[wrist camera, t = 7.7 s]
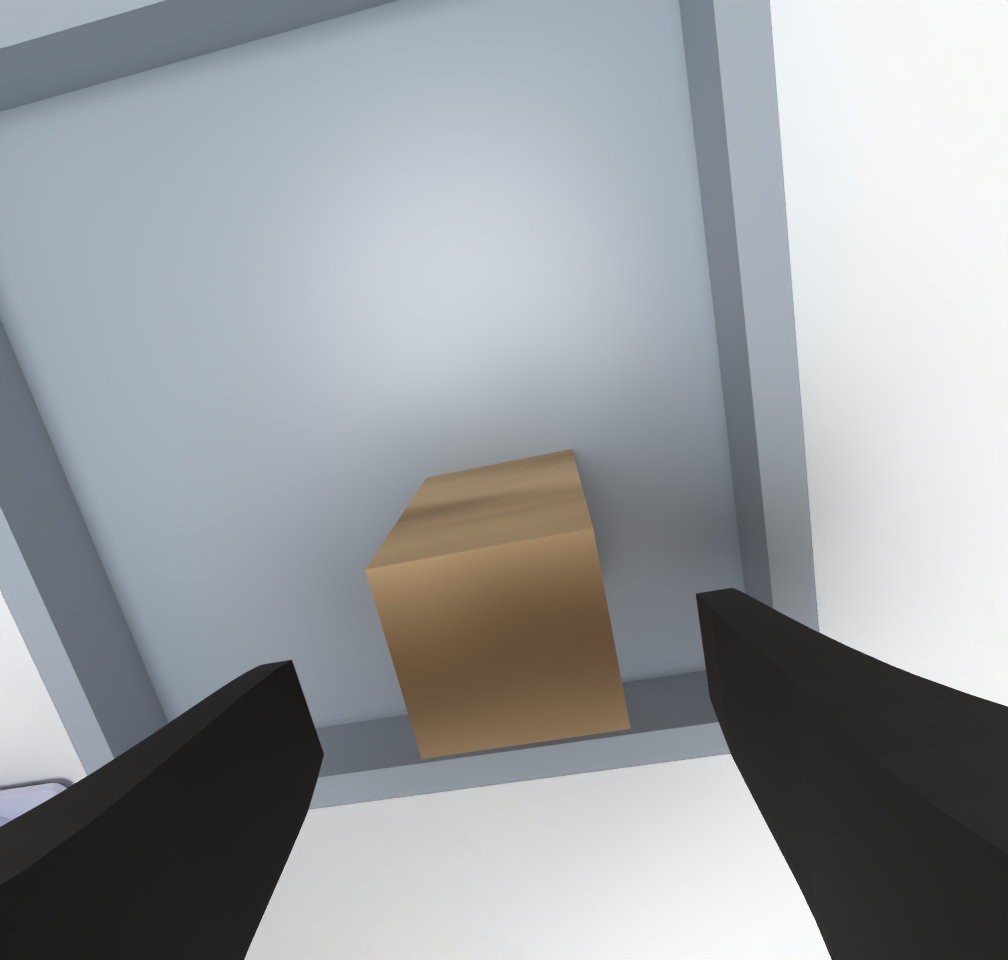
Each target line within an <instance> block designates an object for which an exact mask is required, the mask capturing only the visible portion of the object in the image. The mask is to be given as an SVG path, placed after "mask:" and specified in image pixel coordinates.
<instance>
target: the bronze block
mask: <svg viewBox="0 0 1008 960" xmlns="http://www.w3.org/2000/svg"><path fill="white" fill-rule="evenodd" d="M365 571H366V575H367V578H368V581H369V585H370V588H371V591H372V595H373V598H374V602H375V605H376V608H377V612H378V615H379V618H380V622H381V625H382V628H383V632H384V635H385V638H386V642H387V645H388V648H389V652H390V655H391V658H392V662H393V665H394V668H395V672H396V675H397V679H398V682H399V685H400V689H401V692H402V695H403V699H404V702H405V705H406V709H407V712H408V715H409V719H410V722H411V725H412V729H413V732H414V735H415V739H416V742H417V746H418V749H419V752H420V756H421V759H426V758H433V757H440V756H447V755H454V754H461V753H468V752H474V751H481V750H488V749H495V748H502V747H509V746H516V745H523V744H530V743H537V742H544V741H551V740H557V739H564V738H571V737H578V736H585V735H592V734H599V733H606V732H613V731H620V730H627V729H631V728H630V723H629V718H628V712H627V707H626V702H625V696H624V691H623V685H622V680H621V675H620V669H619V664H618V659H617V653H616V648H615V643H614V637H613V632H612V626H611V621H610V616H609V610H608V605H607V600H606V594H605V589H604V584H603V578H602V573H601V567H600V562H599V557H598V551H597V546H596V541H595V535H594V530H593V526H592V522H591V518H590V514H589V511H588V507H587V503H586V499H585V496H584V492H583V488H582V484H581V481H580V477H579V473H578V469H577V465H576V462H575V458H574V454H573V450H572V449H569V450H564V451H559V452H554V453H549V454H544V455H539V456H534V457H529V458H523V459H518V460H513V461H508V462H503V463H498V464H493V465H488V466H483V467H478V468H473V469H468V470H463V471H457V472H452V473H447V474H442V475H437V476H432V477H427V478H426V479H425V481H424V482H423V484H422V485H421V487H420V488H419V490H418V491H417V493H416V494H415V495H414V497H413V498H412V500H411V501H410V503H409V504H408V506H407V507H406V509H405V510H404V512H403V513H402V515H401V516H400V518H399V519H398V521H397V522H396V524H395V525H394V527H393V528H392V530H391V531H390V533H389V534H388V536H387V537H386V539H385V540H384V542H383V543H382V545H381V546H380V548H379V549H378V551H377V552H376V554H375V555H374V557H373V558H372V560H371V561H370V563H369V564H368V566H367V567H366V569H365Z"/></svg>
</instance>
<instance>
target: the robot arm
mask: <svg viewBox="0 0 1008 960" xmlns="http://www.w3.org/2000/svg"><path fill="white" fill-rule="evenodd" d="M696 600H697V608H698V615H699V622H700V630H701V637H702V644H703V652H704V659H705V666H706V674H707V681H708V688H709V696H710V700H711V703H712V705H713V708H714V711H715V713H716V716H717V719H718V722H719V724H720V727H721V730H722V732H723V735H724V738H725V740H726V743H727V745H728V748H729V751H730V753H731V755H732V757H733V759H734V761H735V763H736V765H737V767H738V769H739V771H740V773H741V775H742V777H743V779H744V781H745V783H746V785H747V787H748V788H749V790H750V792H751V794H752V796H753V798H754V800H755V802H756V804H757V806H758V808H759V810H760V812H761V814H762V815H763V817H764V819H765V821H766V823H767V825H768V827H769V829H770V831H771V833H772V835H773V837H774V839H775V840H776V842H777V844H778V846H779V848H780V850H781V852H782V854H783V856H784V858H785V860H786V862H787V864H788V865H789V867H790V869H791V871H792V873H793V875H794V877H795V879H796V881H797V883H798V885H799V887H800V889H801V891H802V893H803V895H804V897H805V899H806V901H807V904H808V906H809V908H810V910H811V912H812V914H813V916H814V918H815V920H816V923H817V925H818V927H819V930H820V932H821V935H822V937H823V940H824V942H825V944H826V947H827V949H828V952H829V954H830V956H831V959H832V960H1008V706H1004V705H1001V704H998V703H995V702H992V701H988V700H985V699H982V698H979V697H976V696H973V695H970V694H967V693H964V692H961V691H958V690H956V689H953V688H950V687H947V686H944V685H942V684H939V683H936V682H933V681H931V680H928V679H925V678H922V677H919V676H917V675H914V674H911V673H909V672H906V671H904V670H901V669H899V668H896V667H894V666H891V665H889V664H887V663H884V662H882V661H880V660H878V659H875V658H873V657H871V656H869V655H866V654H864V653H862V652H859V651H857V650H855V649H853V648H850V647H848V646H846V645H844V644H842V643H840V642H838V641H836V640H833V639H831V638H829V637H827V636H825V635H823V634H821V633H819V632H817V631H815V630H813V629H811V628H809V627H807V626H805V625H803V624H801V623H799V622H798V621H796V620H794V619H792V618H790V617H788V616H786V615H784V614H782V613H781V612H779V611H777V610H775V609H773V608H771V607H769V606H768V605H766V604H764V603H762V602H760V601H758V600H756V599H755V598H753V597H751V596H749V595H747V594H745V593H743V592H741V591H739V590H737V589H735V588H727V589H721V590H714V591H708V592H702V593H696ZM323 757H324V752H323V749H322V746H321V744H320V741H319V738H318V735H317V732H316V729H315V726H314V723H313V720H312V717H311V714H310V711H309V708H308V705H307V702H306V699H305V696H304V694H303V691H302V688H301V685H300V682H299V679H298V676H297V673H296V670H295V667H294V664H293V661H292V660H287V661H281V662H275V663H268V664H262V665H259V666H257V667H255V668H253V669H251V670H249V671H247V672H246V673H244V674H242V675H241V676H239V677H237V678H236V679H234V680H232V681H231V682H229V683H228V684H226V685H225V686H223V687H221V688H220V689H218V690H217V691H215V692H214V693H212V694H211V695H209V696H208V697H206V698H205V699H203V700H202V701H200V702H199V703H197V704H196V705H194V706H193V707H192V708H190V709H189V710H187V711H186V712H184V713H183V714H181V715H180V716H178V717H177V718H175V719H174V720H172V721H171V722H169V723H168V724H166V725H165V726H164V727H162V728H161V729H159V730H158V731H156V732H155V733H153V734H152V735H150V736H149V737H147V738H146V739H144V740H143V741H141V742H139V743H138V744H136V745H135V746H133V747H132V748H130V749H129V750H127V751H125V752H124V753H122V754H121V755H119V756H118V757H116V758H115V759H113V760H112V761H110V762H108V763H107V764H105V765H104V766H102V767H101V768H99V769H98V770H96V771H94V772H93V773H91V774H90V775H88V776H87V777H85V778H84V779H82V780H80V781H79V782H77V783H75V784H74V785H72V786H70V787H69V788H66V787H65V786H63V785H61V784H58V783H47V784H40V785H34V786H27V787H20V788H13V789H6V790H0V960H244V959H245V956H246V954H247V951H248V949H249V946H250V944H251V942H252V939H253V937H254V935H255V933H256V930H257V928H258V926H259V923H260V921H261V919H262V917H263V914H264V912H265V910H266V908H267V905H268V903H269V901H270V898H271V896H272V894H273V892H274V889H275V887H276V885H277V882H278V880H279V878H280V876H281V873H282V871H283V869H284V866H285V864H286V862H287V860H288V857H289V855H290V853H291V850H292V848H293V846H294V843H295V841H296V839H297V836H298V834H299V831H300V829H301V827H302V824H303V822H304V820H305V817H306V815H307V812H308V810H309V806H310V803H311V800H312V797H313V793H314V790H315V787H316V783H317V779H318V776H319V772H320V768H321V764H322V760H323Z"/></svg>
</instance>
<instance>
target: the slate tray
mask: <svg viewBox="0 0 1008 960" xmlns="http://www.w3.org/2000/svg"><path fill="white" fill-rule="evenodd" d="M569 449H572V450H573V454H574V458H575V462H576V465H577V469H578V473H579V477H580V481H581V484H582V488H583V492H584V496H585V499H586V503H587V507H588V511H589V514H590V518H591V522H592V526H593V530H594V535H595V541H596V546H597V551H598V557H599V562H600V567H601V573H602V578H603V584H604V589H605V594H606V600H607V605H608V610H609V616H610V621H611V626H612V632H613V637H614V643H615V648H616V653H617V659H618V664H619V669H620V675H621V680H622V685H623V691H624V696H625V702H626V707H627V712H628V718H629V723H630V728H631V729H627V730H620V731H613V732H606V733H599V734H592V735H585V736H578V737H571V738H564V739H557V740H551V741H544V742H537V743H530V744H523V745H516V746H509V747H502V748H495V749H488V750H481V751H474V752H468V753H461V754H454V755H447V756H440V757H433V758H426V759H421V756H420V752H419V749H418V746H417V742H416V739H415V735H414V732H413V729H412V725H411V722H410V719H409V715H408V712H407V709H406V705H405V702H404V699H403V695H402V692H401V689H400V685H399V682H398V679H397V675H396V672H395V668H394V665H393V662H392V658H391V655H390V652H389V648H388V645H387V642H386V638H385V635H384V632H383V628H382V625H381V622H380V618H379V615H378V612H377V608H376V605H375V602H374V598H373V595H372V591H371V588H370V585H369V581H368V578H367V575H366V571H365V569H366V567H367V566H368V564H369V563H370V561H371V560H372V558H373V557H374V555H375V554H376V552H377V551H378V549H379V548H380V546H381V545H382V543H383V542H384V540H385V539H386V537H387V536H388V534H389V533H390V531H391V530H392V528H393V527H394V525H395V524H396V522H397V521H398V519H399V518H400V516H401V515H402V513H403V512H404V510H405V509H406V507H407V506H408V504H409V503H410V501H411V500H412V498H413V497H414V495H415V494H416V493H417V491H418V490H419V488H420V487H421V485H422V484H423V482H424V481H425V479H426V478H427V477H432V476H437V475H442V474H447V473H452V472H457V471H463V470H468V469H473V468H478V467H483V466H488V465H493V464H498V463H503V462H508V461H513V460H518V459H523V458H529V457H534V456H539V455H544V454H549V453H554V452H559V451H564V450H569ZM727 588H735V589H737V590H739V591H741V592H743V593H745V594H747V595H749V596H751V597H753V598H755V599H756V600H758V601H760V602H762V603H764V604H766V605H768V606H769V607H771V608H773V609H775V610H777V611H779V612H781V613H782V614H784V615H786V616H788V617H790V618H792V619H794V620H796V621H798V622H799V623H801V624H803V625H805V626H807V627H809V628H811V629H813V630H815V631H817V632H819V627H818V614H817V601H816V588H815V575H814V563H813V550H812V537H811V524H810V511H809V499H808V486H807V473H806V460H805V447H804V435H803V422H802V409H801V396H800V383H799V370H798V358H797V345H796V332H795V319H794V306H793V294H792V281H791V268H790V255H789V242H788V230H787V217H786V204H785V191H784V178H783V165H782V153H781V140H780V127H779V114H778V101H777V89H776V76H775V63H774V50H773V37H772V25H771V12H770V0H0V591H1V593H2V595H3V597H4V599H5V601H6V604H7V606H8V608H9V610H10V612H11V614H12V616H13V618H14V621H15V623H16V625H17V627H18V629H19V631H20V633H21V635H22V638H23V640H24V642H25V644H26V646H27V648H28V650H29V652H30V655H31V657H32V659H33V661H34V663H35V665H36V667H37V669H38V672H39V674H40V676H41V678H42V680H43V682H44V684H45V686H46V689H47V691H48V693H49V695H50V697H51V699H52V701H53V703H54V706H55V708H56V710H57V712H58V714H59V716H60V718H61V720H62V723H63V725H64V727H65V729H66V731H67V733H68V735H69V737H70V740H71V742H72V744H73V746H74V748H75V750H76V752H77V755H78V757H79V759H80V761H81V763H82V765H83V767H84V769H85V772H86V774H87V776H88V775H90V774H91V773H93V772H94V771H96V770H98V769H99V768H101V767H102V766H104V765H105V764H107V763H108V762H110V761H112V760H113V759H115V758H116V757H118V756H119V755H121V754H122V753H124V752H125V751H127V750H129V749H130V748H132V747H133V746H135V745H136V744H138V743H139V742H141V741H143V740H144V739H146V738H147V737H149V736H150V735H152V734H153V733H155V732H156V731H158V730H159V729H161V728H162V727H164V726H165V725H166V724H168V723H169V722H171V721H172V720H174V719H175V718H177V717H178V716H180V715H181V714H183V713H184V712H186V711H187V710H189V709H190V708H192V707H193V706H194V705H196V704H197V703H199V702H200V701H202V700H203V699H205V698H206V697H208V696H209V695H211V694H212V693H214V692H215V691H217V690H218V689H220V688H221V687H223V686H225V685H226V684H228V683H229V682H231V681H232V680H234V679H236V678H237V677H239V676H241V675H242V674H244V673H246V672H247V671H249V670H251V669H253V668H255V667H257V666H259V665H262V664H268V663H275V662H281V661H287V660H292V661H293V664H294V667H295V670H296V673H297V676H298V679H299V682H300V685H301V688H302V691H303V694H304V696H305V699H306V702H307V705H308V708H309V711H310V714H311V717H312V720H313V723H314V726H315V729H316V732H317V735H318V738H319V741H320V744H321V746H322V749H323V752H324V757H323V760H322V764H321V768H320V772H319V776H318V779H317V783H316V787H315V790H314V793H313V797H312V800H311V803H310V806H309V809H316V808H324V807H331V806H339V805H346V804H354V803H361V802H369V801H376V800H384V799H391V798H399V797H406V796H414V795H422V794H429V793H437V792H444V791H452V790H459V789H467V788H474V787H482V786H489V785H497V784H504V783H512V782H520V781H527V780H535V779H542V778H550V777H557V776H565V775H572V774H580V773H587V772H595V771H602V770H610V769H618V768H625V767H633V766H640V765H648V764H655V763H663V762H670V761H678V760H685V759H693V758H700V757H708V756H716V755H723V754H731V753H730V751H729V748H728V745H727V743H726V740H725V738H724V735H723V732H722V730H721V727H720V724H719V722H718V719H717V716H716V713H715V711H714V708H713V705H712V703H711V700H710V696H709V688H708V681H707V674H706V666H705V659H704V652H703V644H702V637H701V630H700V622H699V615H698V608H697V600H696V593H702V592H708V591H714V590H721V589H727Z"/></svg>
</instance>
